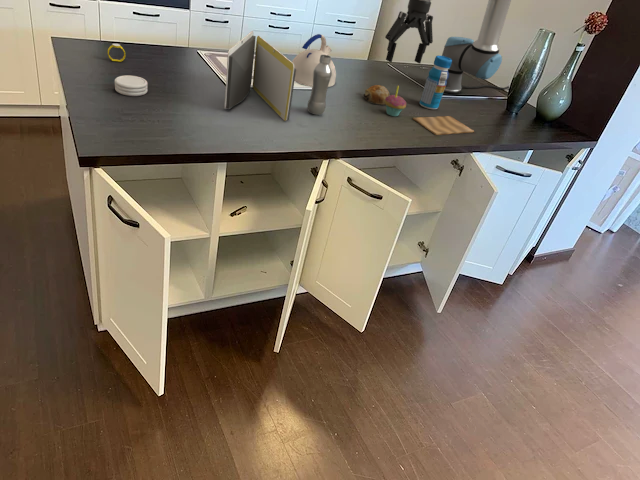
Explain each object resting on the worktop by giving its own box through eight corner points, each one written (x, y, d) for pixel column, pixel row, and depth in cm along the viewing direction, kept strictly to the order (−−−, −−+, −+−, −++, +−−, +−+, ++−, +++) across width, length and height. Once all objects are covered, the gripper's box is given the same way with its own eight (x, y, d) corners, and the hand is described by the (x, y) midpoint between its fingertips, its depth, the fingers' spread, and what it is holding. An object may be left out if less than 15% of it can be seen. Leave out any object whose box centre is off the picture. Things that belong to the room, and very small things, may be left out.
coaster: (152, 89, 161) (152, 79, 159) (140, 99, 152) (139, 88, 150) (123, 83, 160) (122, 72, 158) (109, 92, 152) (108, 81, 150)
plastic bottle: (326, 112, 173) (337, 56, 161) (320, 118, 167) (331, 61, 156) (310, 107, 174) (320, 51, 162) (303, 113, 168) (313, 55, 157)
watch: (108, 62, 174) (107, 45, 170) (107, 59, 176) (106, 42, 172) (126, 62, 176) (125, 46, 173) (125, 60, 178) (124, 43, 175)
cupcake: (397, 120, 180) (406, 89, 173) (377, 112, 183) (385, 81, 176) (406, 115, 186) (415, 85, 179) (387, 107, 189) (395, 77, 182)
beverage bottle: (417, 106, 198) (432, 57, 186) (420, 100, 204) (435, 53, 193) (436, 112, 196) (453, 63, 185) (439, 106, 203) (455, 58, 191)
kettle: (344, 82, 205) (353, 39, 195) (318, 91, 190) (327, 44, 179) (305, 67, 212) (312, 25, 202) (278, 75, 197) (284, 29, 186)
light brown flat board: (449, 117, 194) (450, 116, 193) (473, 132, 185) (474, 130, 184) (412, 119, 184) (412, 117, 184) (435, 135, 175) (436, 133, 174)
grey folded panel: (296, 121, 161) (305, 63, 149) (235, 124, 150) (240, 61, 139) (255, 83, 184) (260, 30, 172) (200, 83, 173) (202, 27, 162)
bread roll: (379, 114, 191) (393, 99, 187) (360, 98, 189) (372, 82, 185) (382, 107, 199) (394, 92, 195) (363, 91, 197) (375, 76, 193)
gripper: (440, -1, 171) (422, 59, 183) (386, -8, 159) (370, 56, 171) (454, 4, 166) (434, 66, 178) (399, -3, 154) (382, 63, 166)
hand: (403, 61), depth 175 cm, fingers open, 13 cm apart
